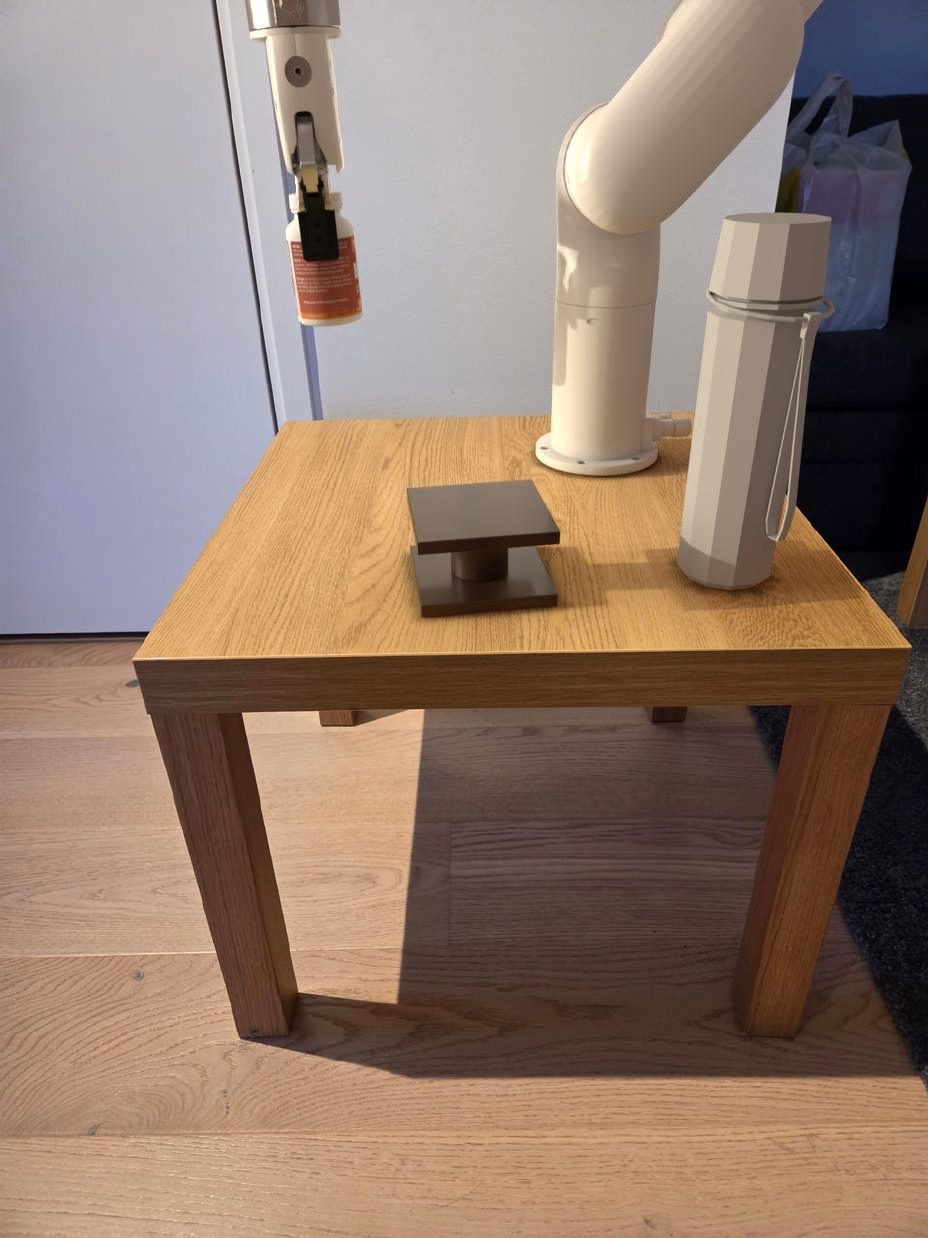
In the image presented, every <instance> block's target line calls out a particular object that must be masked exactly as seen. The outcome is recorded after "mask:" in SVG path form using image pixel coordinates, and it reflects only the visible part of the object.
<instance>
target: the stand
mask: <svg viewBox="0 0 928 1238" xmlns="http://www.w3.org/2000/svg"><path fill="white" fill-rule="evenodd" d="M406 501H407V507H408V512H409V516H410V521H411V527H412V532H413V538H414V543H415V544H414V545H410V546H409V548H410V549H409V552H410V560H411V567H412V572H413V577H414V583H415V589H416V595H417V600H418V606H419V612H420V617H421V618H422V619H423V618H433V617H434V618H435V617H445V616H455V615H469V614H479V613H491V612H492V613H493V612H502V611H511V610H512V611H514V610H515V611H516V610H526V609H527V610H528V609H536V608H537V609H538V608H548V607H550V608H551V607H557V606H558V604H559V603H558V602H559V599H558V598H559V594H558V592H557V590H556V588H555V585H554V584H553V581H552V579H551V577H550V575H549V572H548V570H547V569H546V566H545V564H544V562H543V560H542V558H541V556H540V554H539V551H538V549H537V547H538V546H539V547H541V546H552V545H553V546H554V545H560V544H561V530H560V529H559V527H558V525H557V523H556V521H555V520H554V519H555V518H554V517H553V516H552V514H551V512H550V510H549V508H548V506H547V505H546V503H545V501H544V499H543V497H542V495H541V494H540V492H539V490H538V488H537V486H536V484H535V483H534V481H533V479H531V478H530V479H529V478H528V479H516V480H502V481H489V482H475V483H459V484H446V485H445V484H444V485H432V486H431V485H430V486H417V487H416V486H415V487H407V488H406Z"/></svg>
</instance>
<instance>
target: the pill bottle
mask: <svg viewBox="0 0 928 1238" xmlns="http://www.w3.org/2000/svg"><path fill="white" fill-rule="evenodd" d="M323 196H324V193H323ZM330 200H331V210H335V218H336V227H337V236H338V245H339V254H340V256H339V259H338V260H331V261H316V262H306V261H305V260H304V258H303V252H302V245H301V237H300V229H299V222H298V214H297V212H300V211H299V205H298V196H297V192H294V193H290V194H288V203H289V209H290V210H291V211H290V212H291V213H292V214H293V215H294V216H293V220H292V221H291V222H289V223H288V225H287V226H286V229H285V238H286V239H285V240H286V244H287V245H286V246H287V253H288V259H289V265H290V273H291V274H290V275H291V280H292V288H293V294H294V301H295V309H296V315H297V319H298V321H299V323H300V324H302V325H304V326H308V327H317V328H318V327H320V328H321V327H323V328H324V327H325V328H326V327H338V326H344V325H349V324H352V323H355V322H357V321H359V320H360V319H361V318H362V316H363V306H362V305H363V304H362V295H361V288H360V287H361V286H360V278H359V268H358V261H357V251H356V243H355V242H356V241H355V233H354V228H353V225H352V223H351V222H350V220H349V219H348V218H346V217H343V216H342V214H341V210H342V209H343V203H344V202H343V197H342V192H341V190H332V191H330Z"/></svg>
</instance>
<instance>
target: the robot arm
mask: <svg viewBox="0 0 928 1238" xmlns="http://www.w3.org/2000/svg"><path fill="white" fill-rule="evenodd" d="M822 2H824V0H679V1H678V2H677V3H676V5H675V6H673V8H672V9H671V10H670V12H669V13H668V15H667V16H666V18H665V20H664V21H663V23H662V25H661V27H660V29H659V32H658V34H657V36H656V39H655V41H654V45H653V50H652V51H651V52H650V53H649V54H648V56H647V57H646V58H645V59H644V60H643V62H642V63H641V64H640V65H639V66H638V68H637V69H636V70H635V71H634V72H633V74H632V75H631V76H630V77H629V79H628V80H627V81H626V82H625V83H624V84H623V85H622V87H621V88H620V89H619V90H618V92H617V93H616V94H615V95H614V97H612V99H611V100H607V101H604V102H601V103H598V104H596V105H594V106H592V107H590V108H588V109H587V110H585V111H584V112H583V113H582V114H581V115H580V116H578V117H577V119H575V121H574V122H573V123H572V124H571V126H570V128H569V129H568V131H567V132H566V134H565V136H564V138H563V140H562V143H561V146H560V149H559V152H558V156H557V157H558V158H557V162H556V172H555V173H556V174H555V210H556V212H555V213H556V272H555V273H556V274H555V298H554V322H553V323H554V324H553V325H554V327H553V357H552V360H553V361H552V387H551V395H552V396H551V418H550V419H551V420H550V431H549V432H547V433H545V434H543V435H541V436H540V437H539V438H538V440H536V443H535V456H536V458H537V459H538V460H539V461H540V463H542V464H544V465H545V466H547V467H549V468H551V469H553V470H554V469H555V470H557V471H561V472H564V473H569V474H574V475H582V476H593V477H594V476H596V477H602V476H603V477H604V476H618V475H626V474H631V473H636V472H639V471H643V470H644V469H646V468H649V467H651V465H653V464H654V463H655V462H656V461H657V460H658V454H659V446H658V444H657V442H659V441H661V440H662V438H667V437H669V438H670V437H671V438H682V437H683V438H684V437H690V436H691V435H692V434H691V433H692V431H693V424H692V419H691V418H690V417H673V418H672V416H671V413H657V414H652V413H651V412H650V411H649V410H648V409H647V406H648V393H649V381H650V371H651V370H650V369H651V361H652V348H653V339H654V327H655V316H656V304H657V299H658V290H659V278H660V264H661V224H662V223H663V222H665V221H666V220H667V219H668V218H670V217H671V216H672V215H673V214H675V212H677V211H678V210H679V209H680V207H682V206H683V205H684V204H685V203H686V202H687V201H688V200H689V199H690V197H691V196H692V195H694V193H695V192H696V191H697V190H698V189H699V188H700V187H702V185H703V183H704V182H705V181H707V180H708V178H709V177H710V176H711V175H712V174H714V172H715V171H716V170H717V168H719V167H720V166H721V164H722V163H723V162H724V161H725V160H726V159H727V158H728V157H729V155H730V154H731V153H732V152H733V151H734V150H735V149H736V148H737V147H738V146H739V144H741V143H742V141H744V139H745V138H746V137H747V136H748V135H749V134H750V133H751V132H752V130H753V129H754V128H755V127H756V126H757V125H758V124H759V123H760V122H761V120H762V119H763V118H764V117H765V116H766V115H767V114H768V112H769V111H770V110H771V109H772V108H773V107H774V106H775V104H776V103H777V102H778V100H779V99H780V98H781V96H782V95H783V93H784V91H785V90H786V88H787V87H788V85H789V83H790V82H791V80H792V77H793V76H794V74H795V72H796V69H797V67H798V64H799V61H800V58H801V55H802V51H803V47H804V40H805V24H806V22H807V21H808V20H809V19H810V18H811V16H812V15H813V14H814V13H815V11H816V10H817V8H819V7H820V5H821V4H822ZM244 6H245V12H246V21H247V26H248V32H249V40H250V41H251V42H256V43H265V49H266V57H267V63H268V72H269V78H270V84H271V91H272V99H273V105H274V111H275V119H276V125H277V128H278V134H279V140H280V145H281V150H282V154H283V160H284V165H285V168H286V171H287V172H288V173H289V174H290V175H292V176H294V178H295V185H296V193H297V196H298V205H299V211H300V212H297V214H298V222H299V229H300V237H301V245H302V252H303V258H304V260H305V261H306V262H316V261H331V260H338V259H339V256H340V254H339V245H338V236H337V227H336V218H335V210H331V200H330V191H333V190H332V183H331V176H330V175H331V171H330V166H335V171H336V173H337V174H341V173H342V172H343V170H344V169H345V160H344V147H343V146H344V145H343V138H342V137H343V136H342V128H341V127H342V126H341V118H340V117H341V116H340V108H339V99H338V97H339V96H338V88H337V87H338V86H337V81H336V72H335V64H334V58H333V53H332V47H331V42H330V40H331V41H332V40H336V39H340V38H343V31H342V22H341V21H342V20H341V11H340V9H341V8H340V1H339V0H244ZM323 193H324V196H323Z"/></svg>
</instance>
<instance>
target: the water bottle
mask: <svg viewBox="0 0 928 1238" xmlns="http://www.w3.org/2000/svg"><path fill="white" fill-rule="evenodd" d="M831 227H832V217H831V216H827V215H820V214H815V213H801V212H800V213H799V212H748V213H735V214H729V215H725V216H724V217H723V221H722V226H721V230H720V233H719V234H720V235H719V239H718V244H717V249H716V253H715V258H714V262H713V267H712V273H711V277H710V281H709V287H708V288H707V289H706V292H705V293H706V299H707V300H708V301H709V302H710V303H711V304H712V305H710V306H709V308H708V310H707V312H706V313H707V314H706V320H705V321H706V322H705V329H704V330H705V331H704V337H703V338H704V339H703V347H702V354H701V355H702V356H701V361H700V363H701V364H700V371H699V380H698V388H697V395H696V404H695V411H694V420H693V421H694V422H693V426H692V434H691V435H692V437H691V444H690V451H689V452H690V453H689V461H688V469H687V477H686V485H685V493H684V494H685V495H684V501H683V510H682V518H681V527H680V534H679V541H678V542H679V543H678V550H677V557H676V564H677V565H678V567H679V568H680V570H681V571H682V572H683V573H684V574H685V576H686V577H687V578H688V580H690V581H693V582H695V583H697V584H699V585H702V586H704V587H707V588H712V589H718V590H726V591H735V590H744V589H752V588H754V587H756V586H757V585H759V584H761V583H762V582H764V581H766V580H767V579H768V578H770V577H771V575H772V568H773V563H774V557H775V552H776V547H777V542H783V541H785V540H786V539H787V537H788V534H789V532H790V531H791V527H792V523H793V519H794V516H795V512H796V507H797V500H798V499H797V498H798V489H799V479H800V469H801V468H800V467H801V458H802V449H803V440H804V439H803V437H804V428H805V419H806V407H807V400H808V399H807V398H808V389H809V379H810V368H811V362H812V356H813V351H814V346H815V340H816V336H817V333H818V329H819V327H820V324H821V322H822V320H825V319H829V318H830V317H831V316H832V315H833V314H834V313H835V312H836V308H835V305H834V303H833V301H831V300H830V299H828V298H827V297H825V291H826V283H827V282H826V280H827V270H828V262H829V261H828V260H829V249H830V238H831ZM821 305H825V306H826V307H827V309H828V310H827V311H825V312H824V313H822V312H820V311H819V310H817V309H815V308H814V307H817V306H821ZM786 494H787V496H786ZM785 499H786V505H785V511H784V516H783V518H782V515H783V509H784V503H785ZM781 520H782V522H781ZM780 526H781V527H780Z"/></svg>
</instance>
